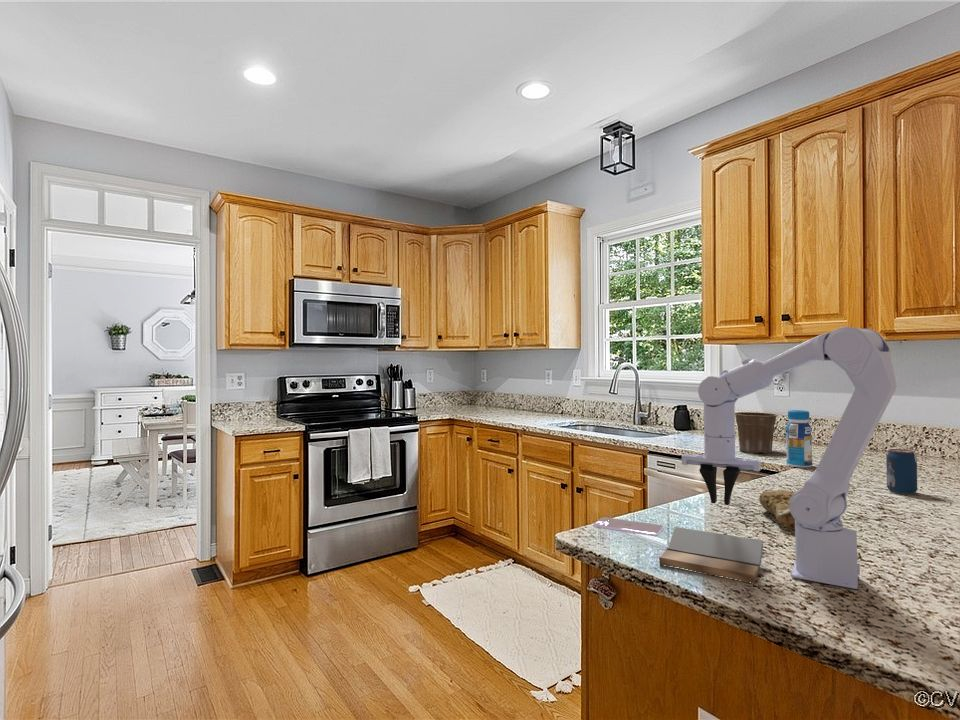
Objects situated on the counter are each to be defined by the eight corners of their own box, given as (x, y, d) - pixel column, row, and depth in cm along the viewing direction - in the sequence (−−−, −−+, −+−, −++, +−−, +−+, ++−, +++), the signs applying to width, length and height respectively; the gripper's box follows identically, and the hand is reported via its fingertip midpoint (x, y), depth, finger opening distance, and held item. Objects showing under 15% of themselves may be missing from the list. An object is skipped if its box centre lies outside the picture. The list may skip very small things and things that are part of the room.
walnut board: (758, 573, 96) (758, 563, 96) (754, 584, 92) (754, 574, 92) (667, 556, 105) (667, 547, 105) (659, 565, 101) (659, 556, 101)
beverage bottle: (782, 463, 200) (781, 409, 201) (806, 463, 199) (805, 409, 199) (792, 467, 192) (791, 411, 192) (817, 468, 191) (816, 411, 191)
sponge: (831, 541, 117) (819, 501, 134) (824, 508, 116) (813, 472, 134) (764, 544, 123) (761, 505, 141) (757, 512, 122) (755, 477, 140)
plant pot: (782, 451, 228) (782, 413, 228) (771, 456, 216) (770, 416, 217) (742, 447, 239) (741, 411, 240) (729, 452, 228) (728, 413, 228)
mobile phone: (657, 533, 118) (591, 523, 125) (657, 538, 118) (591, 528, 125) (665, 524, 124) (601, 515, 132) (665, 528, 124) (601, 519, 132)
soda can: (921, 492, 154) (920, 450, 154) (912, 496, 150) (911, 453, 150) (892, 488, 159) (891, 447, 160) (882, 491, 156) (882, 450, 156)
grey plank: (763, 546, 102) (762, 540, 101) (759, 570, 97) (759, 564, 97) (676, 532, 111) (675, 526, 110) (669, 553, 106) (668, 548, 106)
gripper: (762, 435, 108) (763, 503, 108) (687, 431, 116) (688, 494, 116) (757, 440, 102) (758, 511, 102) (678, 435, 111) (679, 501, 110)
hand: (720, 503), depth 109 cm, fingers closed
